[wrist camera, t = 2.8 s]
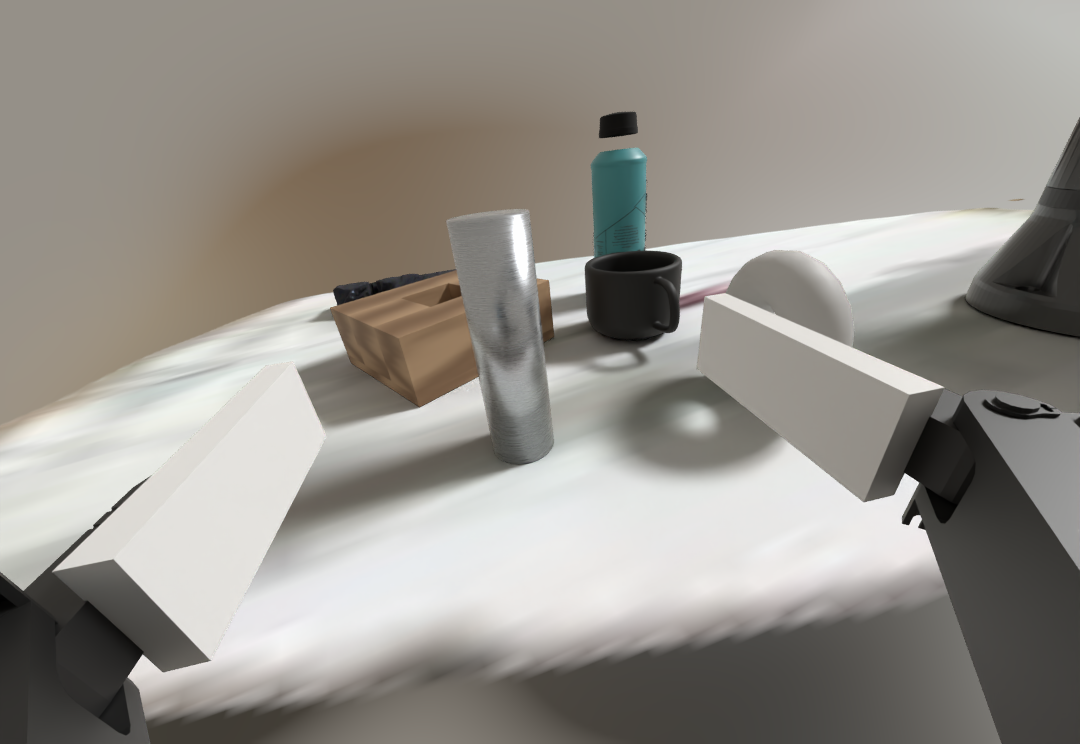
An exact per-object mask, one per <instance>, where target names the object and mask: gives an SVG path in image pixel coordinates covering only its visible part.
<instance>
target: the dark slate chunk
mask: <svg viewBox="0 0 1080 744" xmlns="http://www.w3.org/2000/svg"><path fill="white" fill-rule="evenodd" d="M455 270H456V269H455ZM455 270H447V271H442V272H436V273H431V274H424V275H418V274H407V275H402V276H400V277H390V278H385V279H382V280H378V281H376V282H374V283H370V284H369V282H360V283H353V284H347V285H339V286H337V287H336V288H335V289H334V290H333V291H334V296H335V299H336V301H337V306H338V305H341V304H344V303H348V302H351V301H354V300H358V299H361V298H365V297H368V296H371V295H375V294H378V293H381V292H385V291H388V290H391V289H395V288H398V287H402V286H405V285H408V284H412V283H415V282H418V281H422V280H425V279H428V278H432V277H435V276H439V275H442V274H445V273H449V272H452V271H455Z"/></svg>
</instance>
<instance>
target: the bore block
mask: <svg viewBox="0 0 1080 744" xmlns="http://www.w3.org/2000/svg"><path fill="white" fill-rule="evenodd" d="M537 289H538V298H539V307H540V316H541V326H542V335H543V342H545V341H547V340H549V339H551V338H553V337H554V330H553V319H552V309H551V298H550V287H549V280H543V279H537ZM330 309H331V312H332V315H333V317H334V320H335V322H336V325H337V328H338V330H339V333H340V335H341V338H342V341H343V343H344V346H345V349H346V351H347V354H348V356H349V359H350V362H351V363H352V364H353V365H355V366H356V367H358V368H360V369H361V370H363V371H364V372H366V373H367V374H369V375H370V376H372V377H374V378H375V379H377V380H378V381H380V382H381V383H383V384H384V385H386V386H388V387H389V388H391V389H392V390H394V391H395V392H397V393H398V394H400V395H402V396H403V397H405V398H406V399H408V400H409V401H411V402H412V403H414V404H416V405H417V406H419V407H421V406H423V405H425V404H427V403H429V402H431V401H432V400H434V399H436V398H438V397H440V396H442V395H444V394H446V393H448V392H450V391H452V390H453V389H455V388H457V387H459V386H461V385H463V384H465V383H467V382H469V381H471V380H473V379H475V378H476V377H478V372H477V367H476V362H475V357H474V352H473V347H472V343H471V338H470V333H469V328H468V323H467V318H466V314H465V309H464V304H463V299H462V294H461V289H460V285H459V280H458V275H457V270H455V271H452V272H449V273H445V274H442V275H439V276H435V277H432V278H428V279H425V280H422V281H418V282H415V283H412V284H408V285H405V286H402V287H398V288H395V289H391V290H388V291H385V292H381V293H378V294H375V295H371V296H368V297H365V298H361V299H358V300H354V301H351V302H348V303H344V304H341V305H338V306H334V307H331V308H330Z"/></svg>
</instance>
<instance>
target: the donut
mask: <svg viewBox="0 0 1080 744" xmlns="http://www.w3.org/2000/svg"><path fill="white" fill-rule="evenodd" d="M726 294H729V295H731V296H733V297H736V298H738V299H740V300H743V301H745V302H747V303H750V304H752V305H754V306H757V307H759V308H761V309H764V310H766V311H768V312H771V313H773V314H774V312H775V314H776V315H778V316H780V317H782V318H784V319H787V320H789V321H791V322H794V323H796V324H798V325H801V326H803V327H805V328H808V329H810V330H812V331H815V332H817V333H819V334H822V335H824V336H826V337H829V338H831V339H833V340H836V341H838V342H840V343H843V344H845V345H847V346H850V347H852V346H853V339H854V332H855V331H854V323H853V316H852V308H851V305H850V302H849V300H848V298H847V296H846V293H845V291H844V289H843V286H842V284H841V282H840V281H839V280H838V278H837V277H836V276H835V275H834V274H833V273H832V272H831V270H830V269H829V268H828V267H827V266H826V265H825V264H824V263H823V262H821V261H819V260H817V259H815V258H813V257H811V256H809V255H807V254H805V253H803V252H801V251H784V250H773V251H770V252H767V253H764V254H762V255H760V256H758V257H756V258H754V259H752V260H750V261H749V262H747V263H746V264H745V265H744V266H743V267H742V268H741V269H740V270H739V271H738V273H737V274H736V275H735V276H734V278H733V279H732V281H731V283H730V285H729V287H728V289H727V291H726Z"/></svg>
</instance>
